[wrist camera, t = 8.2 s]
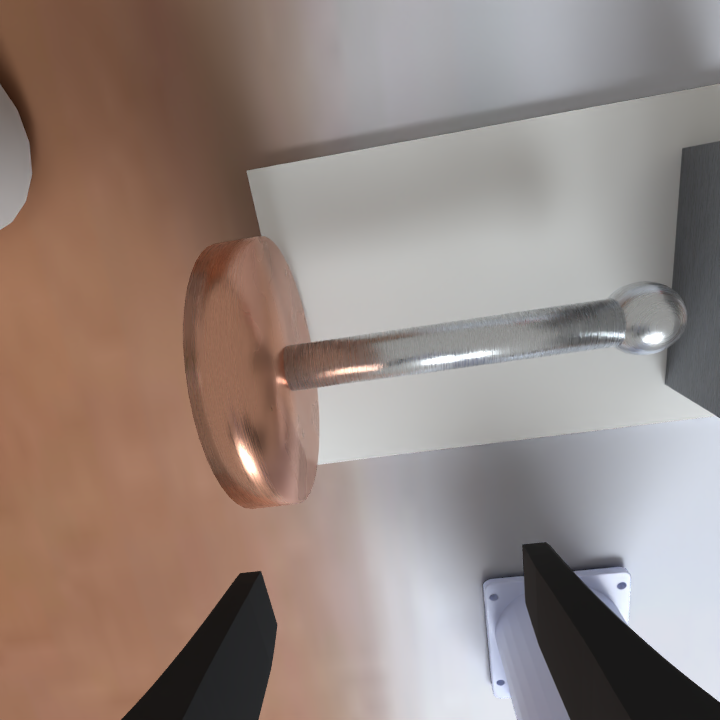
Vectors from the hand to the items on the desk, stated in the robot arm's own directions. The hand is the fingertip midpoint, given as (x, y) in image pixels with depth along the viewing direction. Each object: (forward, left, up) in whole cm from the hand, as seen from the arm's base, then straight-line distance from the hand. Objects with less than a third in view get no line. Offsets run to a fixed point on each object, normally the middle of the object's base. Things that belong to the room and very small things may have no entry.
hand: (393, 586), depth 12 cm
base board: (+5, -9, -10) cm, 15 cm away
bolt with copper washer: (+5, -2, -9) cm, 11 cm away
